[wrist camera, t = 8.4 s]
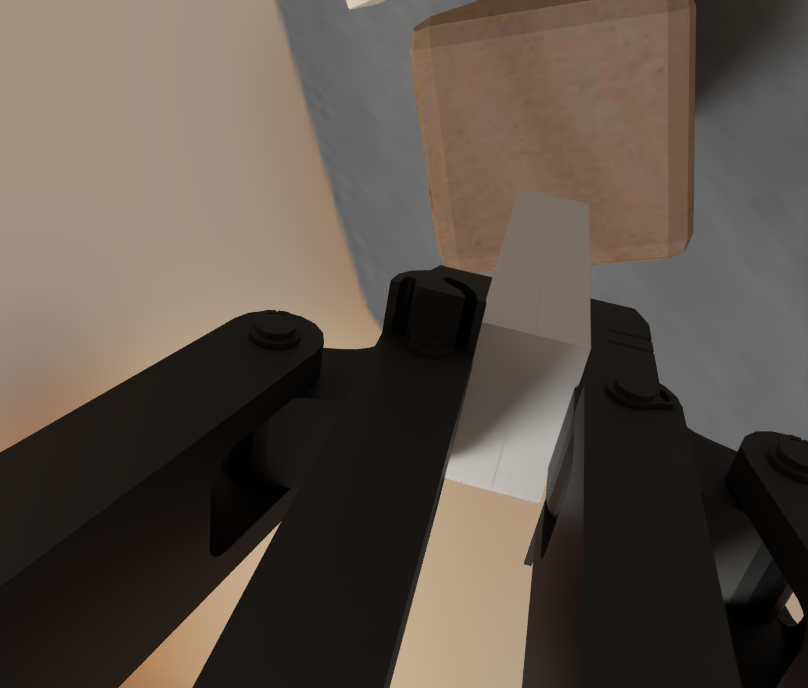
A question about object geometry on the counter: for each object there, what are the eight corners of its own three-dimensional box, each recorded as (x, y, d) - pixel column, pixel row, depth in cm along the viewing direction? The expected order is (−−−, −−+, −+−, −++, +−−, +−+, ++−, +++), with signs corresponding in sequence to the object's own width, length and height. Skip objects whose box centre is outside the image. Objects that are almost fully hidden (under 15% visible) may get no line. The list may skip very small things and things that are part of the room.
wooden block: (490, 168, 48) (437, 284, 30) (472, 0, 43) (398, 22, 26) (652, 150, 45) (696, 266, 28) (650, -30, 41) (701, -28, 23)
